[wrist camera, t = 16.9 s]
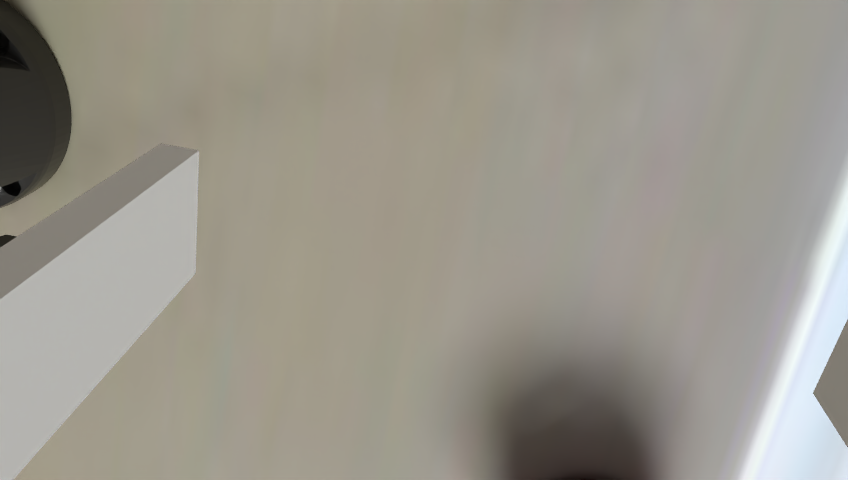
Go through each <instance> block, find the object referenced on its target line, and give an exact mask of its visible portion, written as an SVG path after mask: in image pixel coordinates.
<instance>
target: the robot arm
mask: <svg viewBox="0 0 848 480" xmlns="http://www.w3.org/2000/svg"><path fill="white" fill-rule="evenodd" d="M70 133H71V108H70V102H69V96H68V92H67V88H66V85H65V82H64V79H63V76H62V73H61V71H60V69H59V67H58V64H57V62H56V61H55V59H54V57H53V55H52V53H51V52H50V50H49V48H48V47H47V45H46V44H45V42H44V41H43V39H42V38H41V37H40V35H39V34H38V33H37V32H36V30H35V29H34V28H33V27H32V26H31V25H30V24H29V23H28V21H27V20H26V19H25V18H24V17H23V16H21V15H20V14H19V13H18V12H17V11H16V10H15V9H14V8H12V7H11V6H10V5H9V4H7V3H6V2H5V1H3V0H0V208H1V207H4V206H7V205H10V204H12V203H14V202H16V201H18V200H20V199H21V198H23V197H25V196H27V195H28V194H30V193H32V192H34V191H36V190H37V189H38V188H40V187H41V186H43V185H44V184H45V183H46V182H47V181H48V180H49V179H50V178H51V177H52V176H53V175H54V174H55V172H56V171H57V169H58V168H59V166H60V165H61V163H62V161H63V159H64V156H65V154H66V151H67V148H68V144H69V140H70ZM198 170H199V150H194V149H189V148H183V147H178V146H173V145H168V144H162V143H161V144H159V145H158V146H156V147H155V148H153V149H152V150H150V151H149V152H147V153H146V154H144V155H143V156H141V157H139V158H138V159H136V160H135V161H133V162H132V163H130V164H129V165H127V166H126V167H124V168H122V169H121V170H119V171H118V172H116V173H115V174H113V175H112V176H110V177H109V178H107V179H105V180H104V181H102V182H101V183H99V184H98V185H96V186H95V187H93V188H92V189H90V190H88V191H87V192H85V193H84V194H82V195H81V196H79V197H78V198H76V199H75V200H73V201H71V202H70V203H68V204H67V205H65V206H64V207H62V208H61V209H59V210H58V211H56V212H54V213H53V214H51V215H50V216H48V217H47V218H45V219H44V220H42V221H41V222H39V223H37V224H36V225H34V226H33V227H31V228H30V229H28V230H27V231H25V232H24V233H22V234H20V235H19V236H17V237H16V236H11V235H4V236H0V480H13V479H14V478H15V477H16V476H17V475H18V474H19V472H20V471H21V470H22V469H23V468H24V467H25V466H26V465H27V463H28V462H29V461H30V460H31V459H32V458H33V457H34V456H35V454H36V453H37V452H38V451H39V450H40V449H41V448H42V446H43V445H44V444H45V443H46V442H47V441H48V440H49V439H50V437H51V436H52V435H53V434H54V433H55V432H56V431H57V429H58V428H59V427H60V426H61V425H62V424H63V423H64V422H65V420H66V419H67V418H68V417H69V416H70V415H71V414H72V413H73V411H74V410H75V409H76V408H77V407H78V406H79V405H80V403H81V402H82V401H83V400H84V399H85V398H86V397H87V396H88V394H89V393H90V392H91V391H92V390H93V389H94V388H95V386H96V385H97V384H98V383H99V382H100V381H101V380H102V379H103V377H104V376H105V375H106V374H107V373H108V372H109V371H110V370H111V368H112V367H113V366H114V365H115V364H116V363H117V362H118V360H119V359H120V358H121V357H122V356H123V355H124V354H125V353H126V351H127V350H128V349H129V348H130V347H131V346H132V345H133V343H134V342H135V341H136V340H137V339H138V338H139V337H140V336H141V334H142V333H143V332H144V331H145V330H146V329H147V328H148V327H149V325H150V324H151V323H152V322H153V321H154V320H155V319H156V317H157V316H158V315H159V314H160V313H161V312H162V311H163V310H164V308H165V307H166V306H167V305H168V304H169V303H170V302H171V300H172V299H173V298H174V297H175V296H176V295H177V294H178V293H179V291H180V290H181V289H182V288H183V287H184V286H185V285H186V284H187V282H188V281H189V280H190V279H191V278H192V277H193V276H194V274H195V273H196V239H197V205H198ZM813 394H814V395H815V397H816V399H817V400H818V402H819V403H820V405H821V406H822V408H823V410H824V411H825V413H826V414H827V416H828V417H829V419H830V421H831V422H832V424H833V425H834V427H835V428H836V430H837V431H838V433H839V435H840V436H841V438H842V439H843V441H844V442H845V444H846V446H847V447H848V320H847V322H846V324H845V326H844V328H843V330H842V332H841V335H840V337H839V339H838V341H837V343H836V345H835V347H834V349H833V352H832V354H831V356H830V358H829V360H828V362H827V364H826V366H825V369H824V371H823V373H822V375H821V377H820V379H819V381H818V384H817V386H816V388H815V390H814V392H813Z"/></svg>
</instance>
